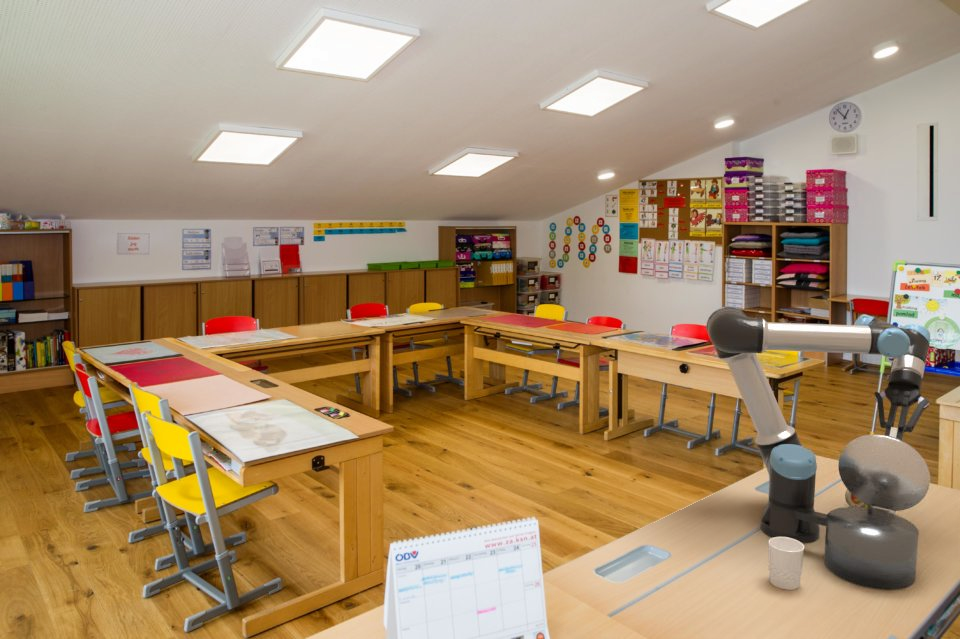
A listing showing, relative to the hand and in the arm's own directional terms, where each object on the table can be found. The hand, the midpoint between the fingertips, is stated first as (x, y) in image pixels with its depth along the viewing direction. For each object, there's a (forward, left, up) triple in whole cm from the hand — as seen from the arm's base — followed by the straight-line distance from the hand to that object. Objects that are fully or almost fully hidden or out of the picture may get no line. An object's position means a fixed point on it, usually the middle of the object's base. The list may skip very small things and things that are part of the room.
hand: (890, 451), depth 182 cm
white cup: (-15, -32, -28) cm, 45 cm away
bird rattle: (-12, +27, -28) cm, 40 cm away
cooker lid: (-1, -3, -6) cm, 7 cm away
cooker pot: (-5, -12, -27) cm, 30 cm away
